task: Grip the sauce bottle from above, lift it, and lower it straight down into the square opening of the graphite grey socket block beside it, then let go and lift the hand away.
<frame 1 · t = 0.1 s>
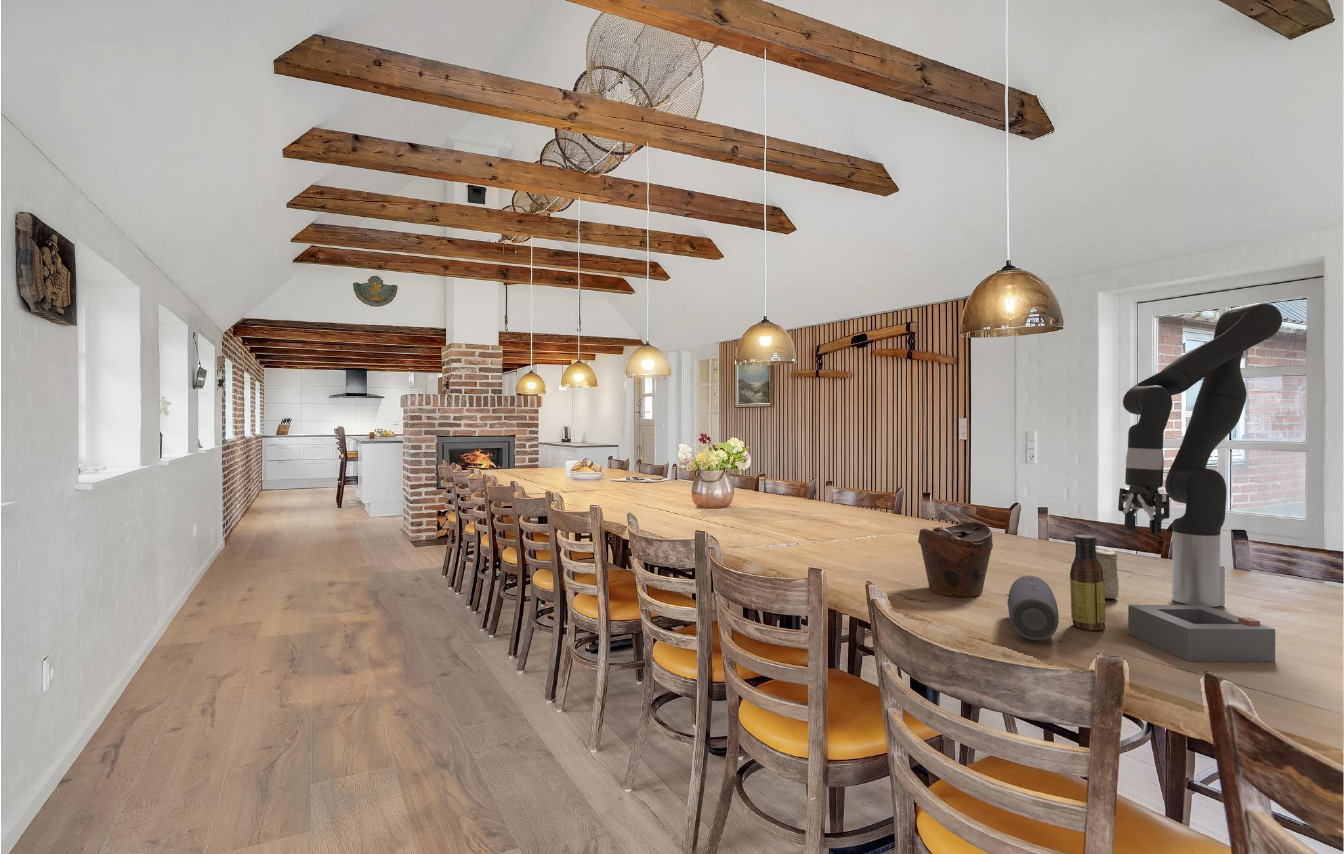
hand: (1141, 532, 159), 17 cm above the table, tool pointing down, fingers open, 8 cm apart
sauce bottle: (1087, 628, 140), on the table
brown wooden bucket: (954, 592, 170), on the table
bluetooth speaker: (1032, 631, 138), on the table
carving: (1103, 598, 164), on the table
bottle socket block: (1197, 646, 128), on the table
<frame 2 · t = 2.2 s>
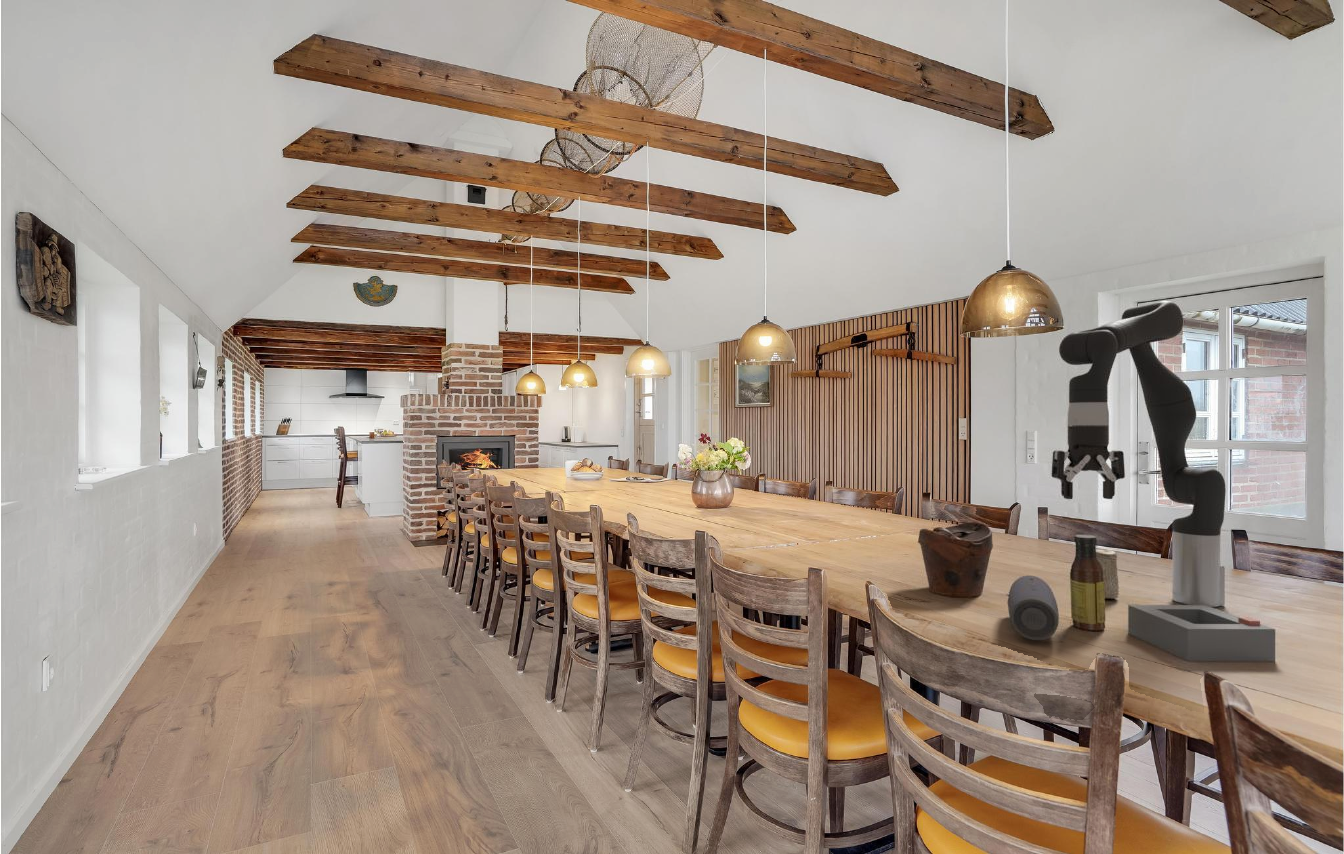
hand: (1087, 498, 140), 28 cm above the table, tool pointing down, fingers open, 8 cm apart
nothing on the table moved.
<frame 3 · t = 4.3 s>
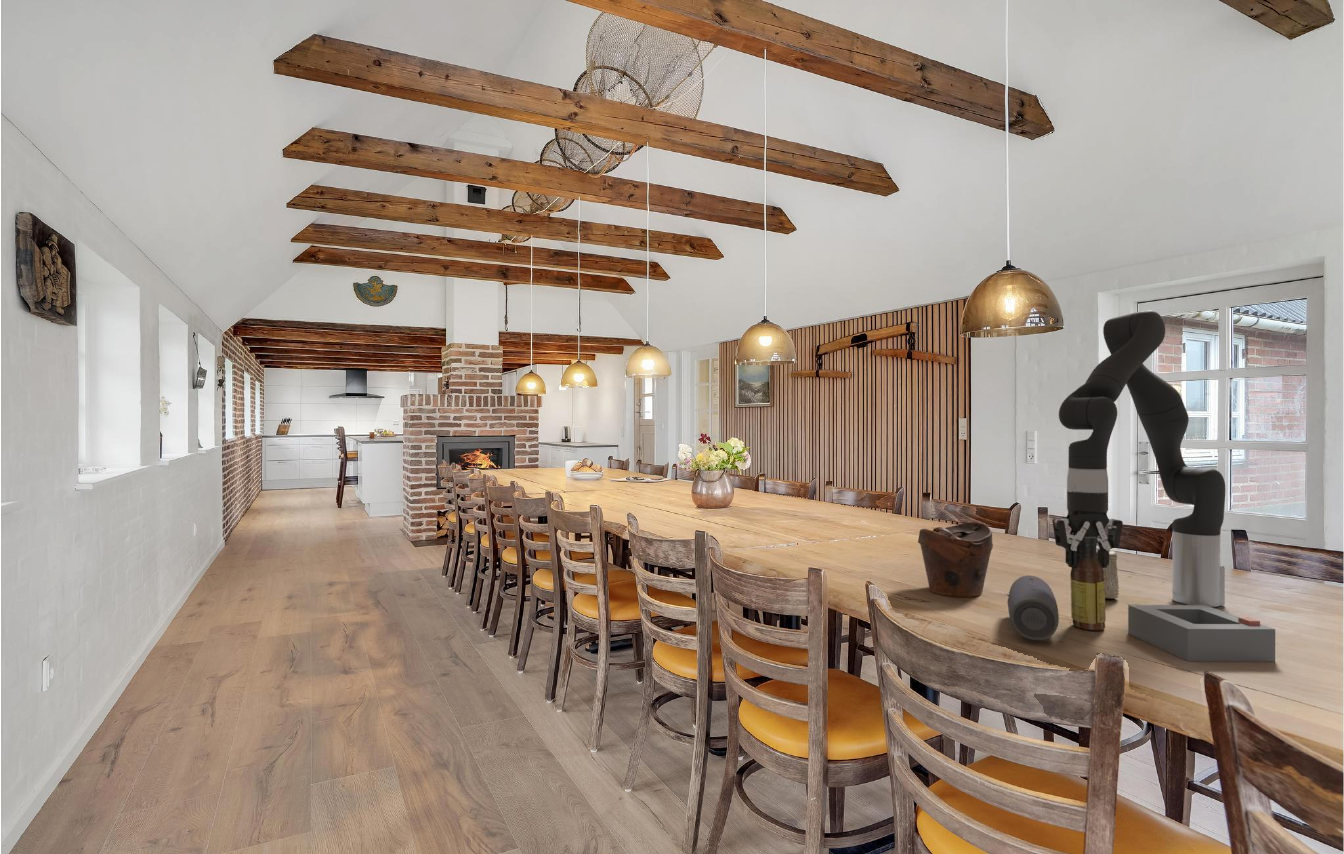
hand: (1087, 566, 140), 13 cm above the table, tool pointing down, fingers closed on sauce bottle, 6 cm apart
sauce bottle: (1087, 628, 140), on the table, touching gripper
everything else where it was.
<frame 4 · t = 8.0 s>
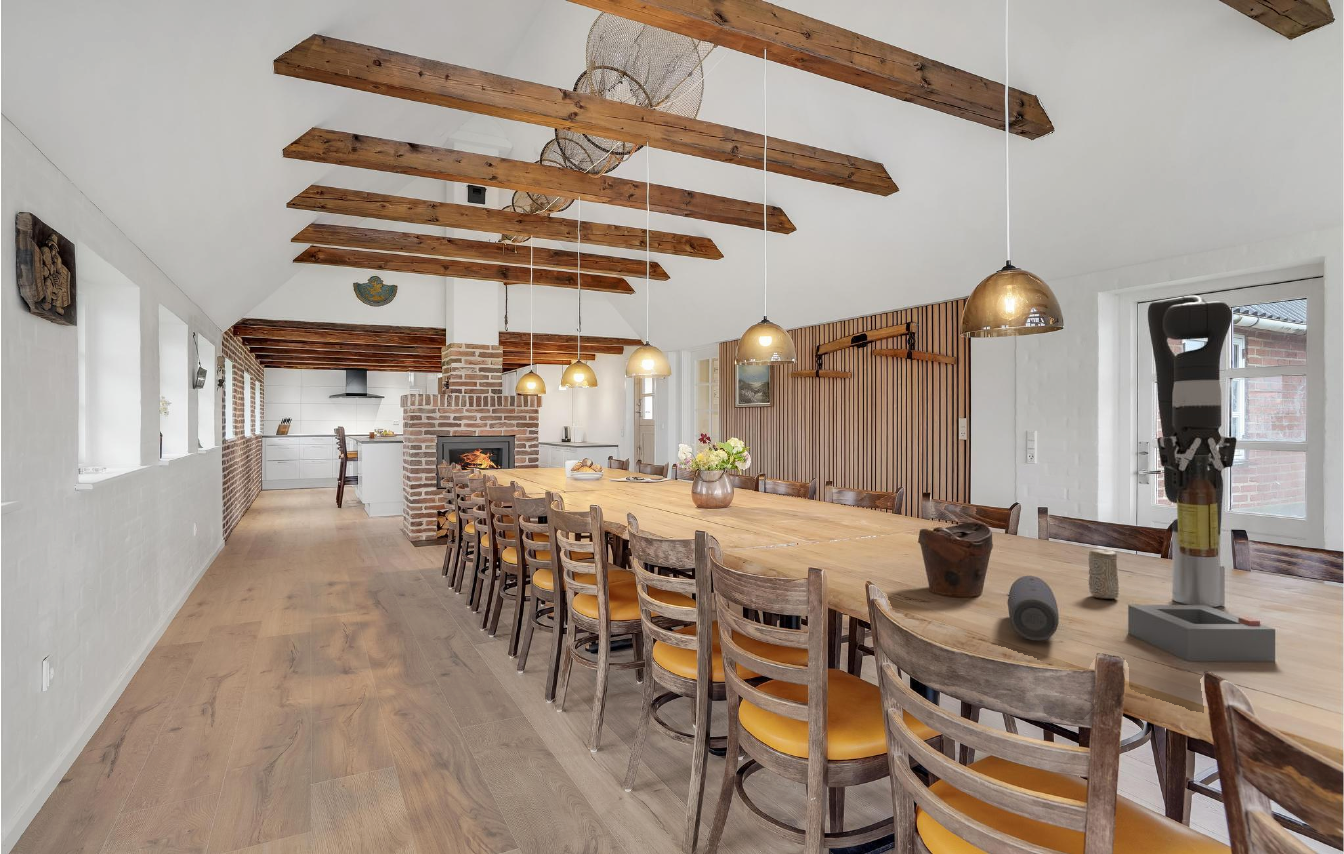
hand: (1196, 488, 128), 31 cm above the table, tool pointing down, fingers closed on sauce bottle, 6 cm apart
sauce bottle: (1197, 556, 128), point 18 cm above the table, touching gripper
everything else where it was.
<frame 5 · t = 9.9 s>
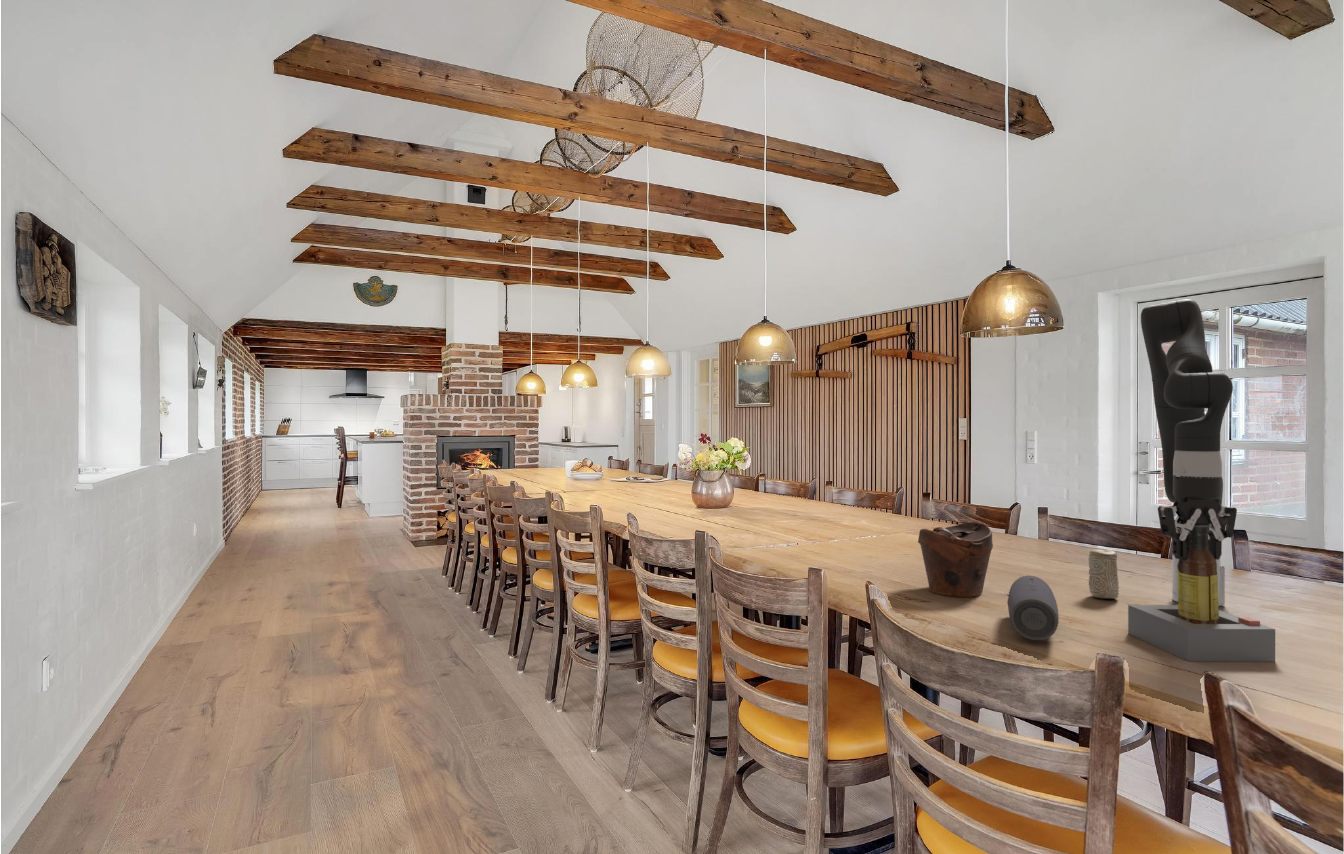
hand: (1196, 558, 128), 17 cm above the table, tool pointing down, fingers closed on sauce bottle, 6 cm apart
sauce bottle: (1197, 625, 128), point 4 cm above the table, touching gripper
everything else where it was.
when the fingers open (14 cm above the table, at t = 11.5 s): sauce bottle drops 1 cm, resting in bottle socket block.
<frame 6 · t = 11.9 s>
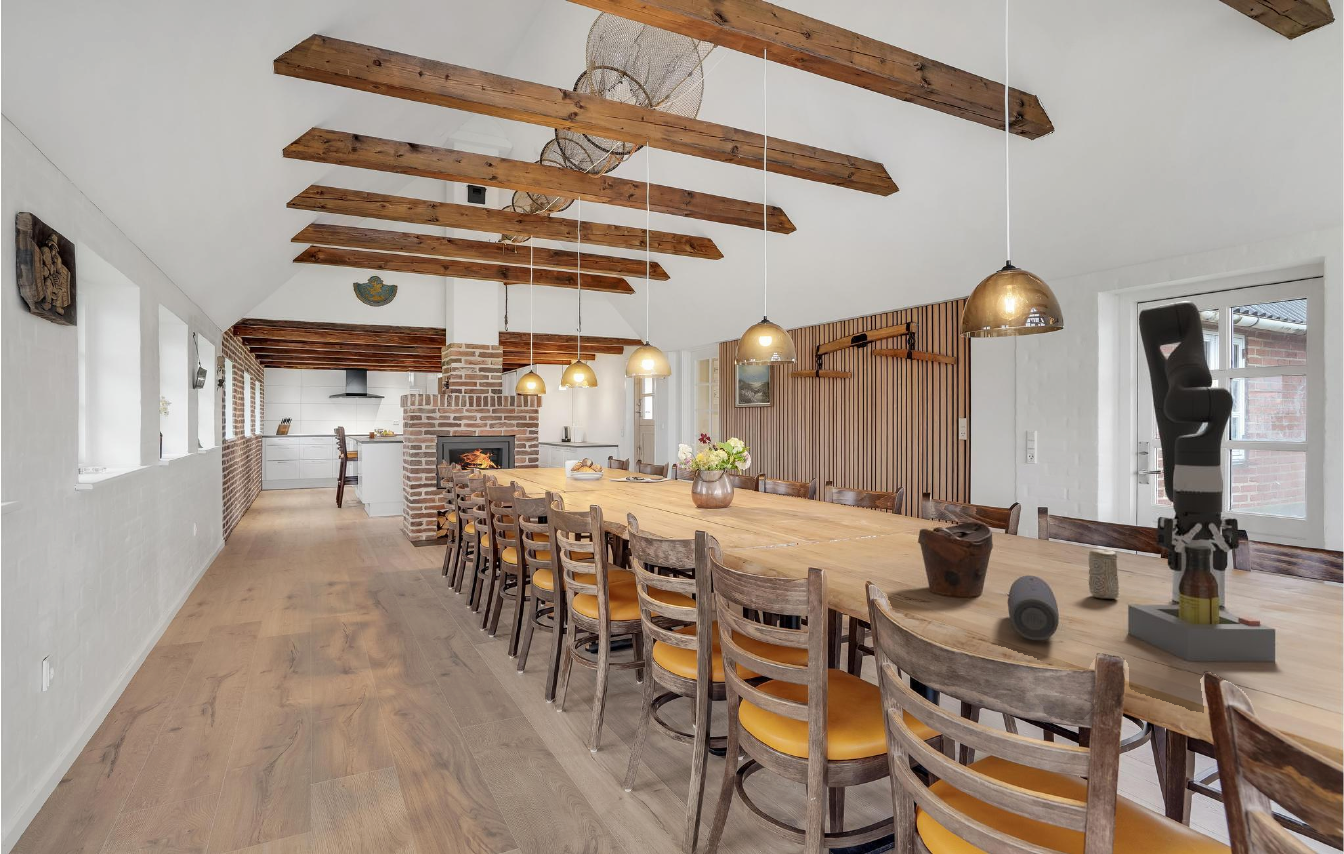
hand: (1197, 570, 128), 15 cm above the table, tool pointing down, fingers open, 8 cm apart
sauce bottle: (1198, 647, 128), resting in bottle socket block
everything else where it was.
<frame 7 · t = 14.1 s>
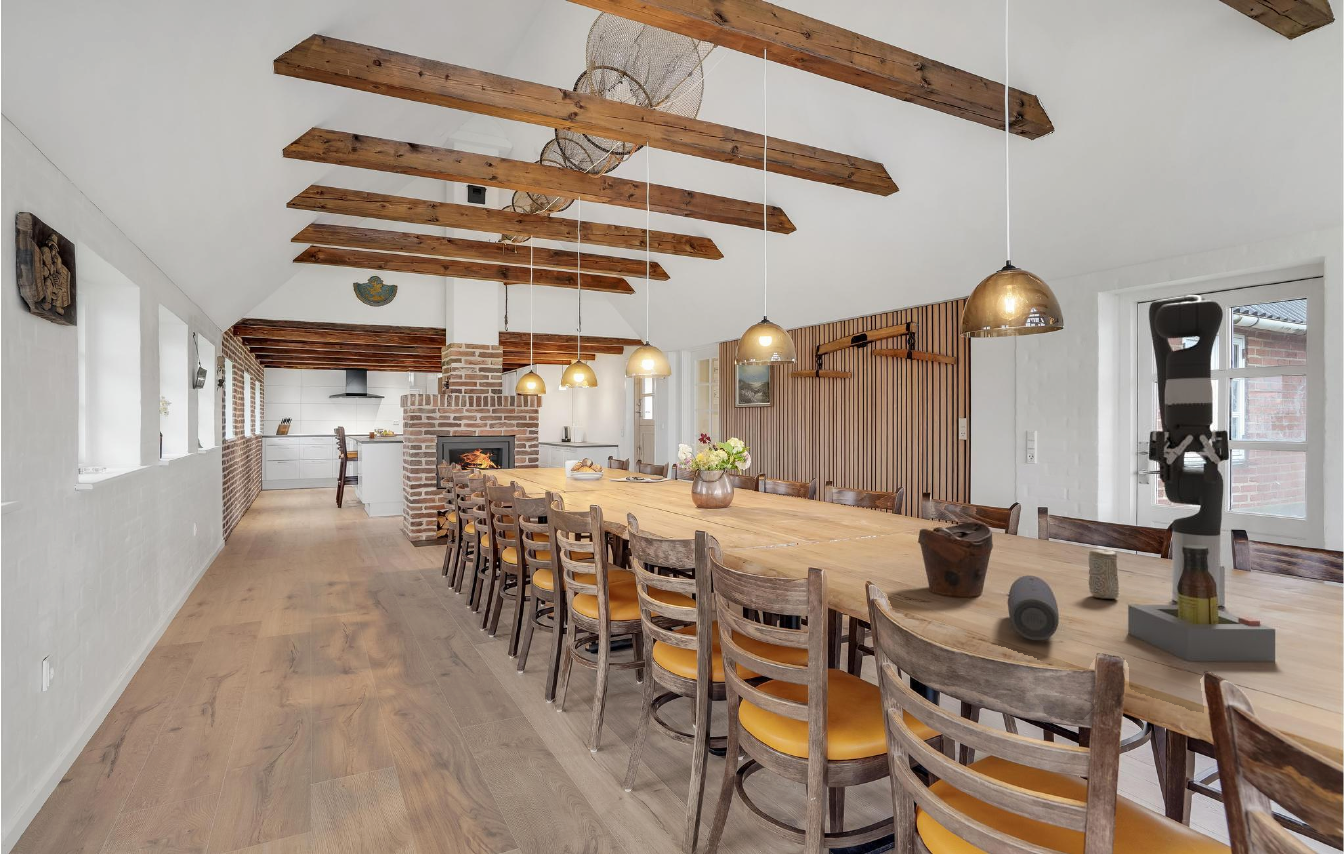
hand: (1188, 482, 130), 32 cm above the table, tool pointing down, fingers open, 8 cm apart
nothing on the table moved.
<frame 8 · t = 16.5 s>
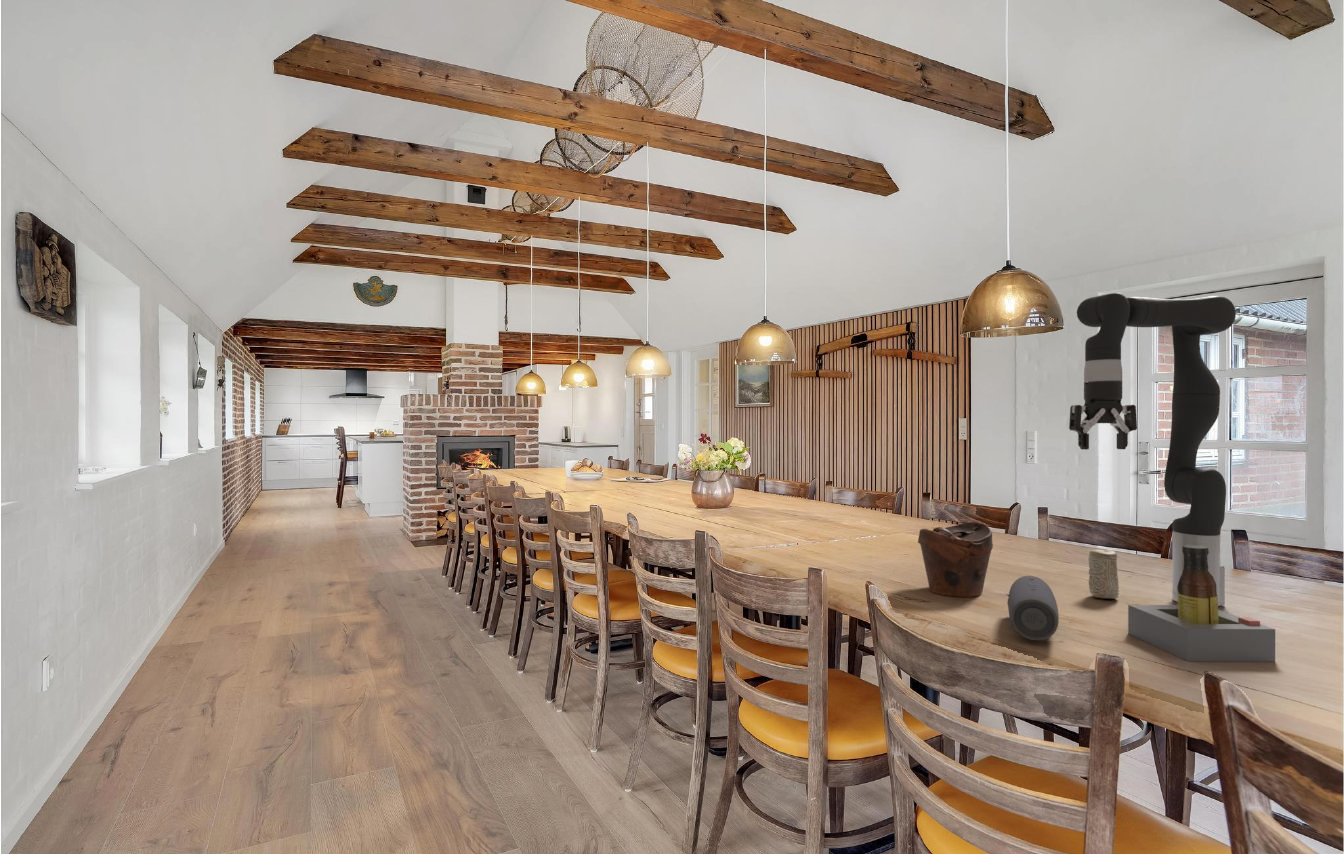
hand: (1102, 449, 152), 38 cm above the table, tool pointing down, fingers open, 8 cm apart
nothing on the table moved.
at the end: sauce bottle 0.3 cm off-centre on the bottle socket block, point 0.0 cm above the bottle socket block's base; sauce bottle tilted 0°; the gripper is holding nothing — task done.
